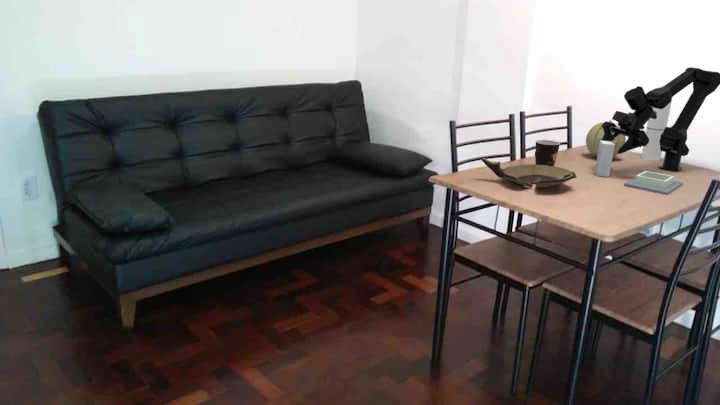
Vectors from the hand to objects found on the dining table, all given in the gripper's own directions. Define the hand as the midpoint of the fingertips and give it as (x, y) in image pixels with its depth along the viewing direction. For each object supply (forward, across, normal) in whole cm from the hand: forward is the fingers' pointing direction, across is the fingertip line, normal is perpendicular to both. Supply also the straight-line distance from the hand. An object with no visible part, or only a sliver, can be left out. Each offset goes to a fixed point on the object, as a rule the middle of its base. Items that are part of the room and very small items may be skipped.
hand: (609, 150), depth 219 cm
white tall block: (-20, -16, +33) cm, 42 cm away
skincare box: (+8, 0, +6) cm, 9 cm away
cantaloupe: (-6, -21, +19) cm, 29 cm away
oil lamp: (+32, +3, -18) cm, 37 cm away
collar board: (+2, +16, +11) cm, 20 cm away
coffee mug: (+20, -12, -7) cm, 24 cm away
